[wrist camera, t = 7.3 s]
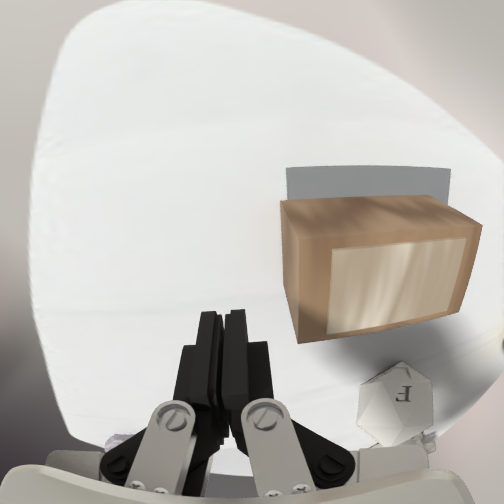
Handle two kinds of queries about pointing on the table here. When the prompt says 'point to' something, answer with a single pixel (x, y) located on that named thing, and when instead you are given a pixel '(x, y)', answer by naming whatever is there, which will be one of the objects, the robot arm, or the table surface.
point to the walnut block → (373, 263)
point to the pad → (366, 181)
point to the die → (395, 405)
